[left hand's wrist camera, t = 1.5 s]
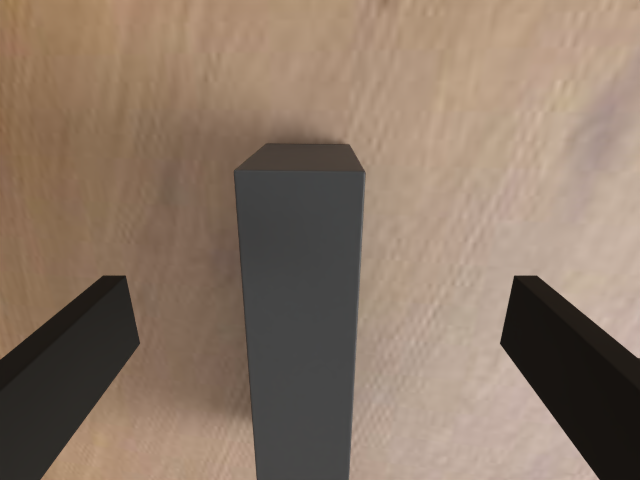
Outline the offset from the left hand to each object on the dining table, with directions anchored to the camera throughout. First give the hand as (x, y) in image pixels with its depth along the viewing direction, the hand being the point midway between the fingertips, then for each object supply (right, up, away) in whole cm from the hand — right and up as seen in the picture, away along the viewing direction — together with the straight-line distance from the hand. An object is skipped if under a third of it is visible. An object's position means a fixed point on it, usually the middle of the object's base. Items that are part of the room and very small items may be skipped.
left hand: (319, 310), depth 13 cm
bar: (-1, -3, +15) cm, 15 cm away
